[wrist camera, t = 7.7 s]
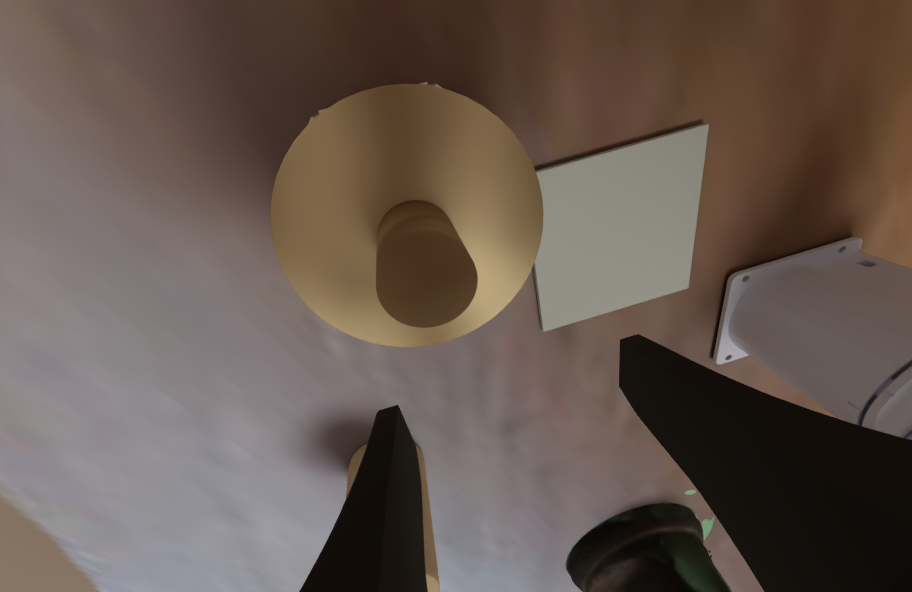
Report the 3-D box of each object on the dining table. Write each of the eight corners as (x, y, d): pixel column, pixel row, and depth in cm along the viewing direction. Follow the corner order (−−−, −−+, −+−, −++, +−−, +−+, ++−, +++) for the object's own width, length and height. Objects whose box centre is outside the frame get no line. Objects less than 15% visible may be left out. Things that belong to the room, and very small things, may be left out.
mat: (703, 123, 19) (708, 123, 19) (683, 285, 24) (688, 288, 24) (521, 174, 18) (523, 176, 18) (541, 328, 24) (543, 331, 23)
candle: (334, 454, 26) (312, 634, 17) (407, 425, 26) (420, 592, 17) (369, 494, 29) (364, 666, 20) (434, 468, 28) (457, 630, 20)
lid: (509, 41, 12) (575, 15, 8) (552, 294, 18) (604, 355, 13) (214, 140, 12) (127, 164, 8) (347, 365, 17) (337, 449, 13)
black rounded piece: (589, 490, 35) (651, 609, 27) (744, 483, 40) (836, 581, 32) (527, 595, 43) (560, 708, 35) (661, 578, 49) (717, 674, 41)
